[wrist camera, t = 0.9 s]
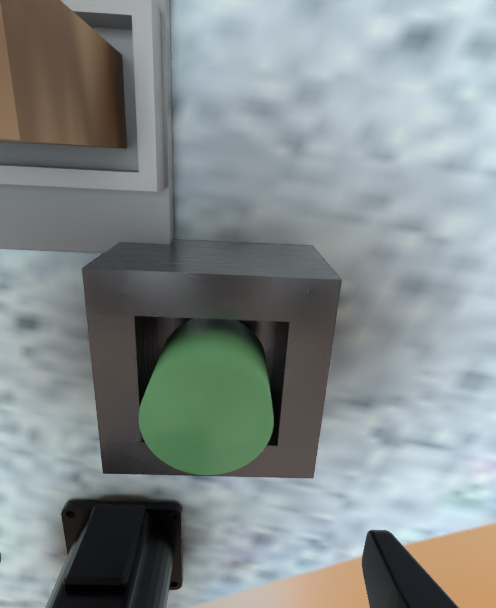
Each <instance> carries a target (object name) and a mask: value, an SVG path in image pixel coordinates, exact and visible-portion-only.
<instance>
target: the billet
mask: <svg viewBox="0 0 496 608" xmlns="http://www.w3.org/2000/svg"><path fill="white" fill-rule="evenodd" d="M0 142H11V143H30V144H48V145H66V146H84V147H103V148H121V149H127V135H126V116H125V98H124V79H123V61H122V54H121V53H120V52H118V51H117V50H116V49H115V48H114V47H113V46H112V45H110V44H109V43H108V42H107V41H106V40H105V39H104V38H103V37H101V36H100V35H99V34H98V33H97V32H96V31H95V30H93V29H92V28H91V27H90V26H89V25H88V24H87V23H86V22H84V21H83V20H82V19H81V18H80V17H79V16H78V15H77V14H75V13H74V12H73V11H72V10H71V9H70V8H69V7H67V6H66V5H65V4H64V3H63V2H62V1H61V0H0Z"/></svg>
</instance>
